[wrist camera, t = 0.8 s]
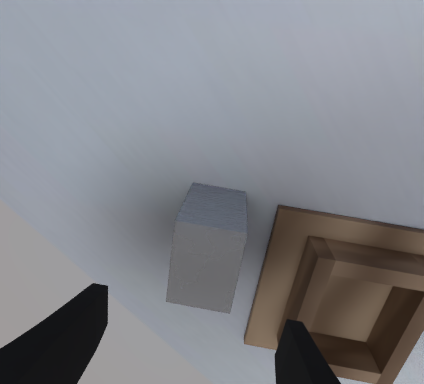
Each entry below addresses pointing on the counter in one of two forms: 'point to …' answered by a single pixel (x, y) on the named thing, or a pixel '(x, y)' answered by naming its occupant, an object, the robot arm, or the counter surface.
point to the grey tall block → (208, 248)
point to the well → (343, 291)
